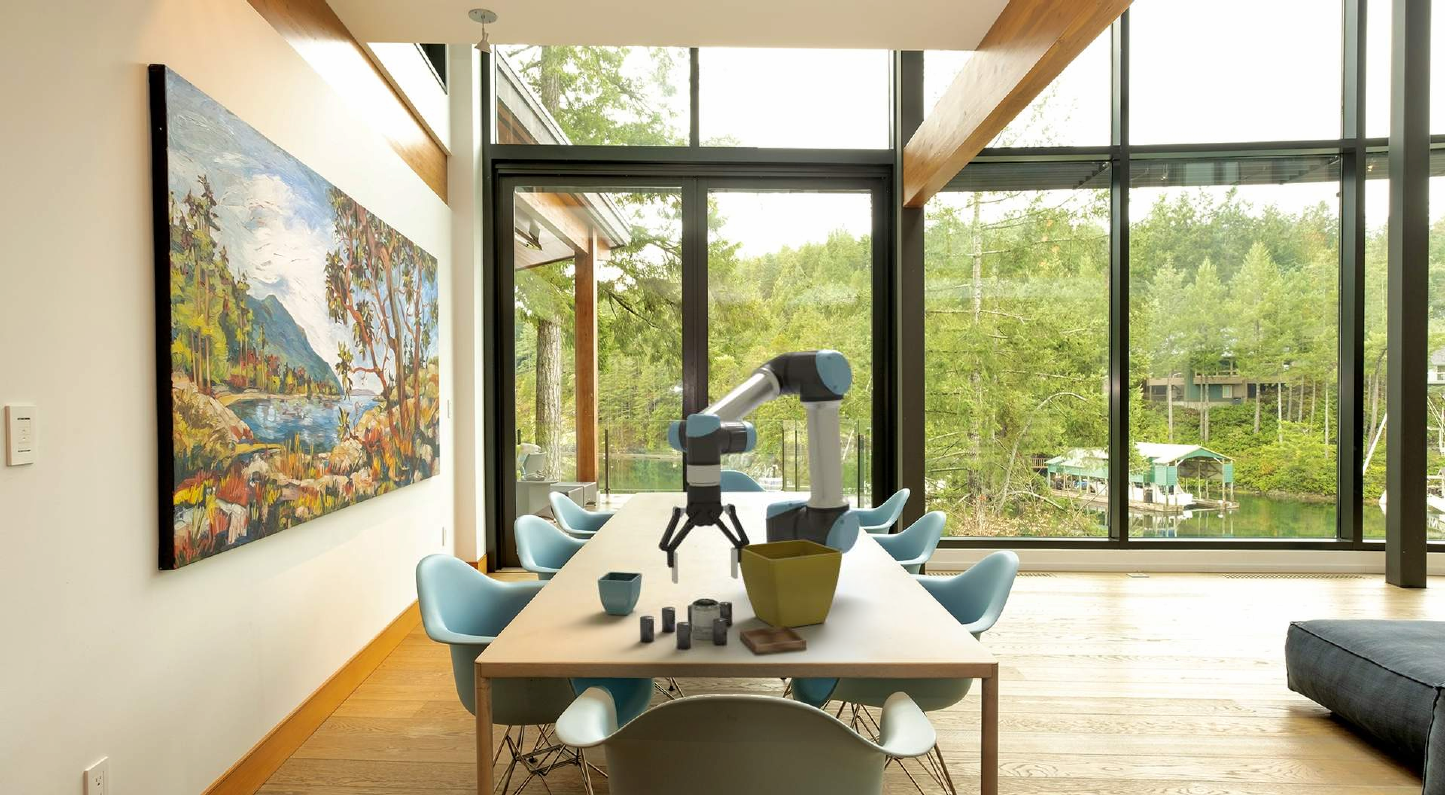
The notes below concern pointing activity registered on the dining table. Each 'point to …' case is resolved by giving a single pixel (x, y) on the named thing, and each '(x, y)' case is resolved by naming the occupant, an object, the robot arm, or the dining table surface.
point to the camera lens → (704, 618)
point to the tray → (772, 640)
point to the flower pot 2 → (790, 581)
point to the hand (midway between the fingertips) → (704, 580)
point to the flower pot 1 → (619, 591)
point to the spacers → (687, 626)
